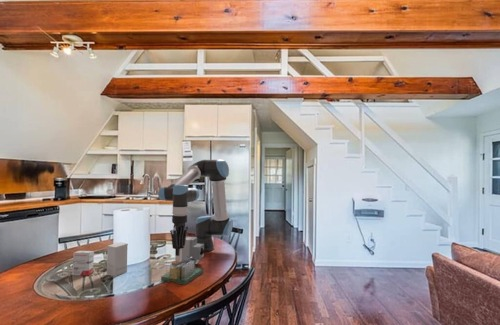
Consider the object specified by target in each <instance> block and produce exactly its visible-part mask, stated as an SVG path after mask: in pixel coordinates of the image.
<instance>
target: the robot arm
mask: <svg viewBox="0 0 500 325" xmlns="http://www.w3.org/2000/svg"><path fill="white" fill-rule="evenodd" d="M228 164H229V163H228V162H227V161H226V160H224V159H202V160H198V161H197V162H195V163H193V164H191V165H190V166H189V167H188V168H187V170H186V171H185V172H184V173H183V174H181V175H180V176H179V177H178V178H177V179H175V180H174V181H173V182H172V183H171V184H169V185H168V186H167V187H166V186H163V187H160V188H159V190H158V193H157V196H158V199H159V200H160V201H165V202H169V201H170V202H172V213H171V214H172V216H171V217H172V218H171V222H172V224H173V228H172V229H171V230H170V231H169V232H170V237H171V244H172V245H171V246H172V249H175V251H174V252H175V254H174V255H175V256H174V257H175V258H174V259H175V260H174V261H179V262H181V261H182V248H184V247H183V246H185V241H186V237H187V232H188V229H189V227H188V226H187V225H186V223H187V222H188V205H189V204H188V203H190V202H191V203H192V202H193V203H194V202H195V201H198V199H199V197H200V192H199V190H198V189H197V188H196V187H195V188H194V187H189V185H191V184H192V183H193V182H194V181H195V180H198V179H200V178H205V177H206V178H208V181H209V182H210V183H211V189H212V200H213V201H212V202H213V212H214V215H204V216H203V215H202V216H199V217H196V219H195V237H197V244H204V250H205V252H211V251H213V250H214V249H215V245H214V240H213V236H218V237H220V236H221V237H229V236H230V235H231V233H232V230H233V225H234V222H233V219H231V218H230V215H229V214H228V212H227V211H228V210H227V209H228V208H227V199H226V196H227V195H226V187H225V186H226V185H225V181H226V180H227V177H229V175H230V173H229V172H230V169H229V165H228Z"/></svg>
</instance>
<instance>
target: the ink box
mask: <svg viewBox="0 0 500 325" xmlns="http://www.w3.org/2000/svg"><path fill="white" fill-rule="evenodd" d="M72 255H73V256H72V276H84V277H85V276H87V277H89V276H90V275H91V274H93V273H94V261H95V260H94V259H95V258H94V256H95V251H94V250H77V251H75V252H73V254H72Z"/></svg>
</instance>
